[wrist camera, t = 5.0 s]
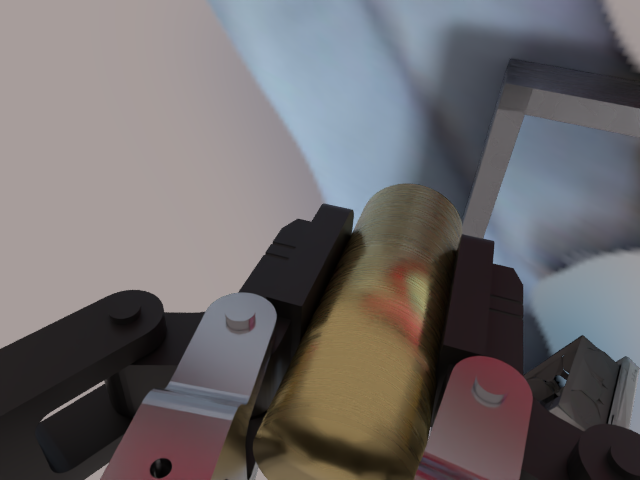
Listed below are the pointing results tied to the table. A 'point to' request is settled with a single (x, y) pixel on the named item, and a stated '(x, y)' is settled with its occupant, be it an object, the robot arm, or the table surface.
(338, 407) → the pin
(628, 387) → the electrical switch
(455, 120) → the table surface
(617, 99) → the bracket
